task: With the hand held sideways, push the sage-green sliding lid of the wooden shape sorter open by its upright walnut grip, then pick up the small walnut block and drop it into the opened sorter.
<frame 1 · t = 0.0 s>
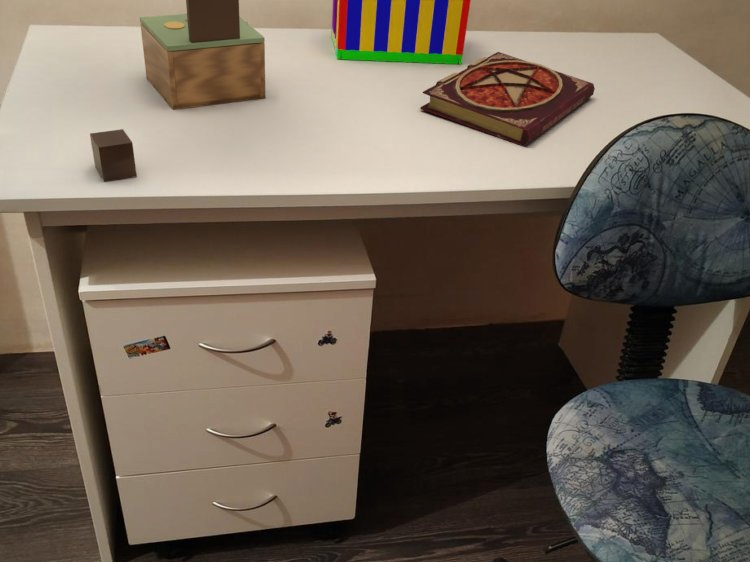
sorter lid: (200, 6, 128), point 13 cm above the table, slide at 0.0 cm
toy house: (395, 50, 159), on the table
sorter: (205, 88, 136), on the table
block: (116, 172, 112), on the table
book: (507, 105, 143), on the table
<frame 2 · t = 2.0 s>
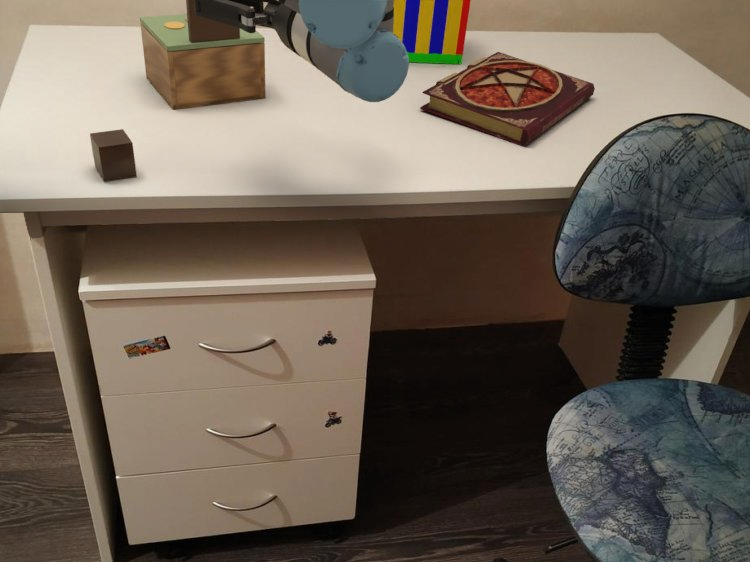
nothing on the table moved.
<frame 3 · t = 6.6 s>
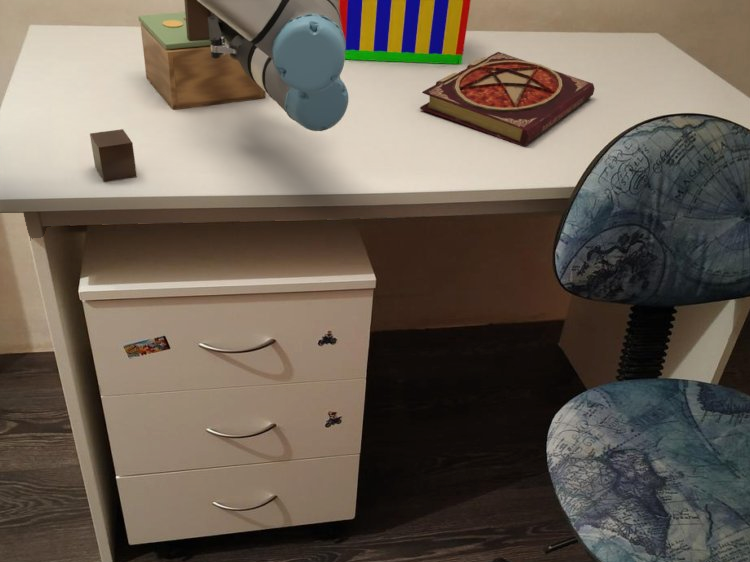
hand: (214, 8, 123), 14 cm above the table, tool horizontal, fingers closed
sorter lid: (198, 5, 128), point 13 cm above the table, slide at 0.8 cm, touching gripper
everything else where it was.
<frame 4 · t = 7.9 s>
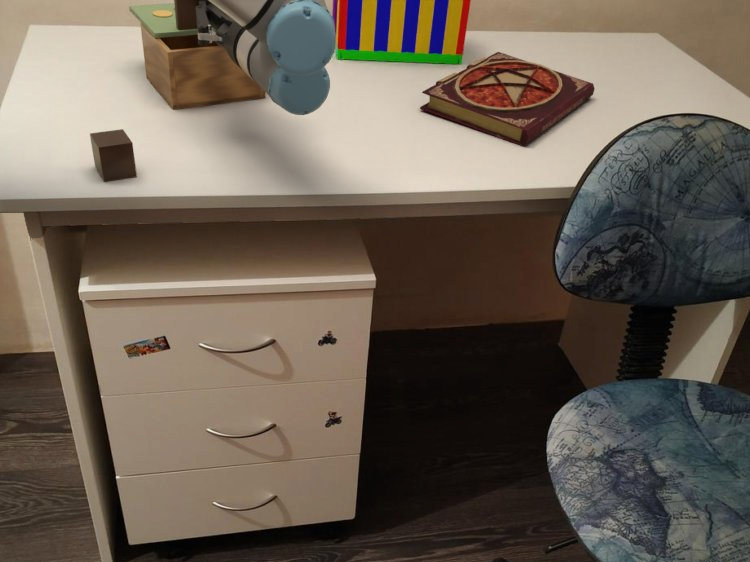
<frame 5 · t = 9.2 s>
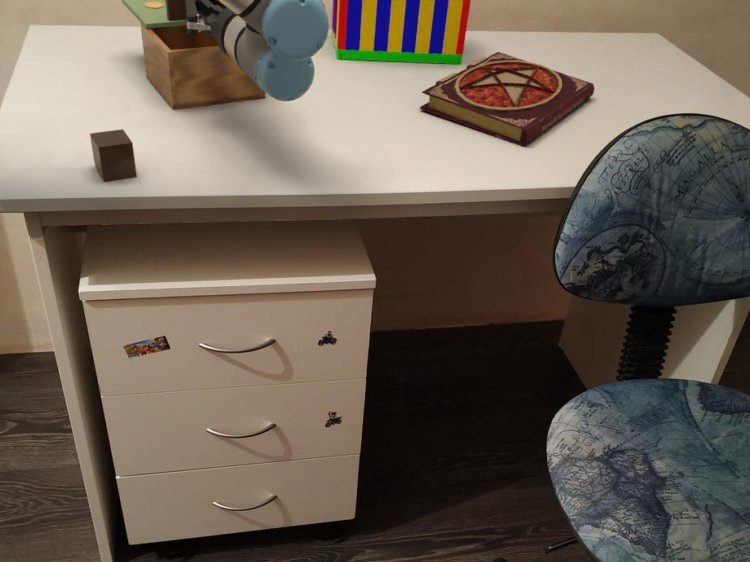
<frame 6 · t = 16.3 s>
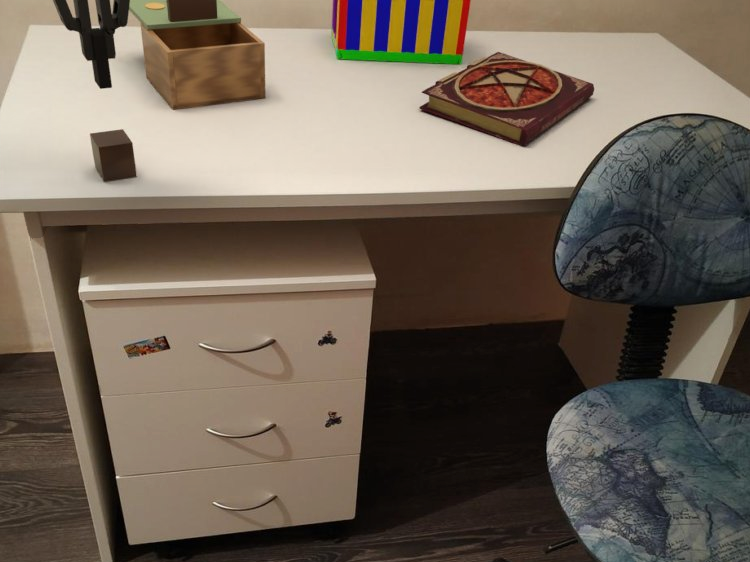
hand: (103, 84, 103), 12 cm above the table, tool pointing down, fingers closed
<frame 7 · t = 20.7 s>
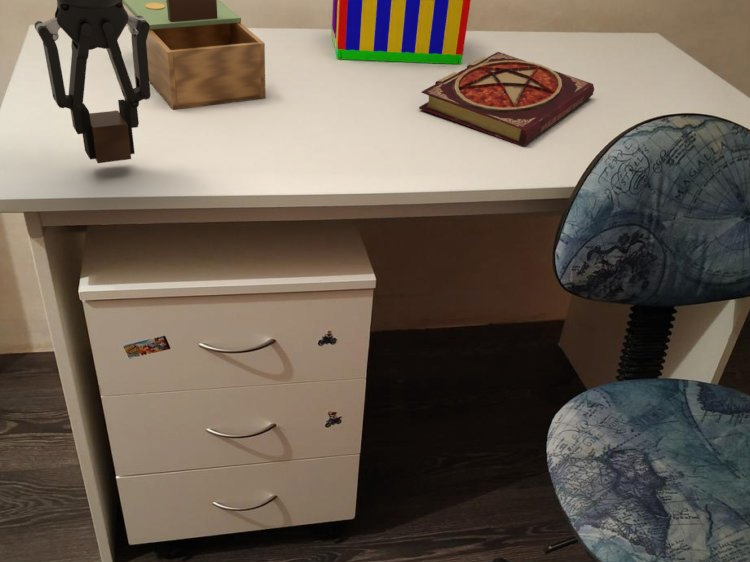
hand: (109, 152, 109), 3 cm above the table, tool pointing down, fingers closed on block, 4 cm apart
block: (110, 154, 110), point 3 cm above the table, touching gripper
when the fingers open (13 cm above the table, at t = 26.6 s): block drops 12 cm, resting on sorter.
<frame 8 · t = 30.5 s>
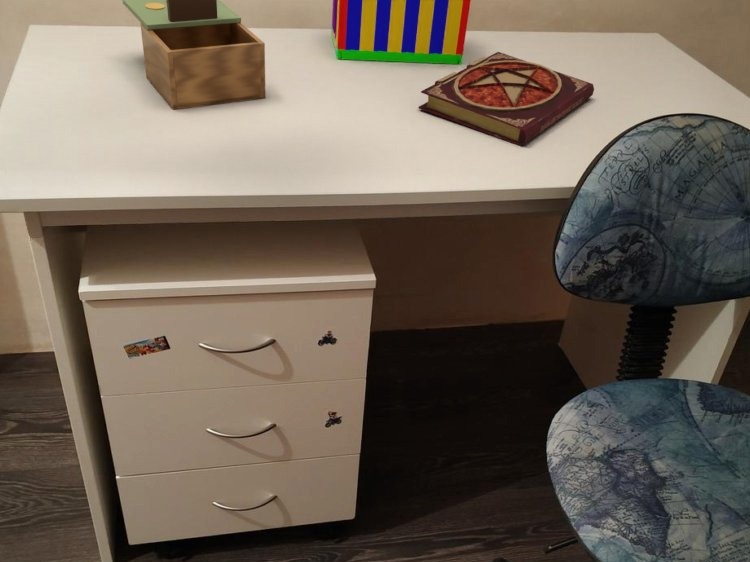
block: (209, 88, 135), point 1 cm above the table, touching sorter
at the end: sorter lid slide at 10.0 cm; block inside the target area on the sorter (2.2 cm from its centre), point 0.8 cm above the sorter's base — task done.
